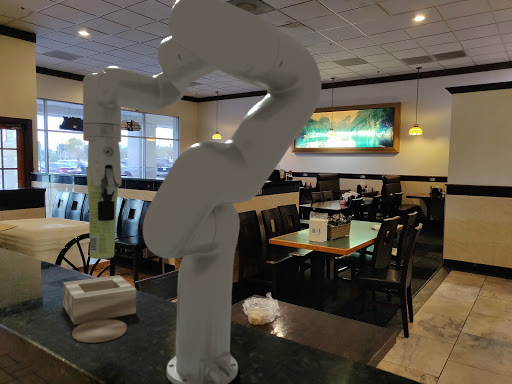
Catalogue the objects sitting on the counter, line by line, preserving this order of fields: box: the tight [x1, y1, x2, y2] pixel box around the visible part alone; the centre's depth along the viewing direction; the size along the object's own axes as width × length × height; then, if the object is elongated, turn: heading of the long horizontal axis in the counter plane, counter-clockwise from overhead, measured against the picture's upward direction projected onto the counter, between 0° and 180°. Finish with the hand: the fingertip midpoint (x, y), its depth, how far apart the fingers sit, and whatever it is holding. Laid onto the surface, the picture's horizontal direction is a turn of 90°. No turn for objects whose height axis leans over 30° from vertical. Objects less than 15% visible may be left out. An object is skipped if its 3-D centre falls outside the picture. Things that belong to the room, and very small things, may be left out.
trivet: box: [71, 318, 128, 344], centre depth 84 cm, size 11×11×1 cm
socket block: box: [62, 275, 137, 326], centre depth 97 cm, size 14×14×6 cm
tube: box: [85, 166, 119, 260], centre depth 84 cm, size 6×5×20 cm
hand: (102, 218), depth 84 cm, fingers closed on tube, 4 cm apart
